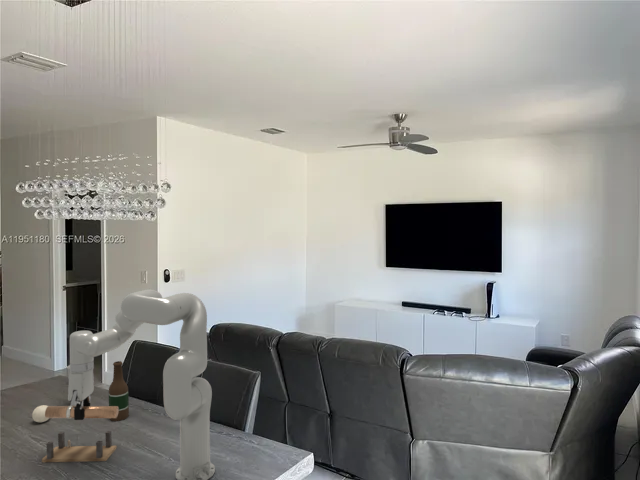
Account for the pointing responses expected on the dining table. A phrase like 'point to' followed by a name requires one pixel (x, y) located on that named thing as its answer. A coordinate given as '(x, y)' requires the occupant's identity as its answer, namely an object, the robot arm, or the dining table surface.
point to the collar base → (79, 451)
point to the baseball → (39, 414)
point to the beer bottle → (119, 393)
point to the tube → (88, 412)
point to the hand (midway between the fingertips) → (82, 416)
